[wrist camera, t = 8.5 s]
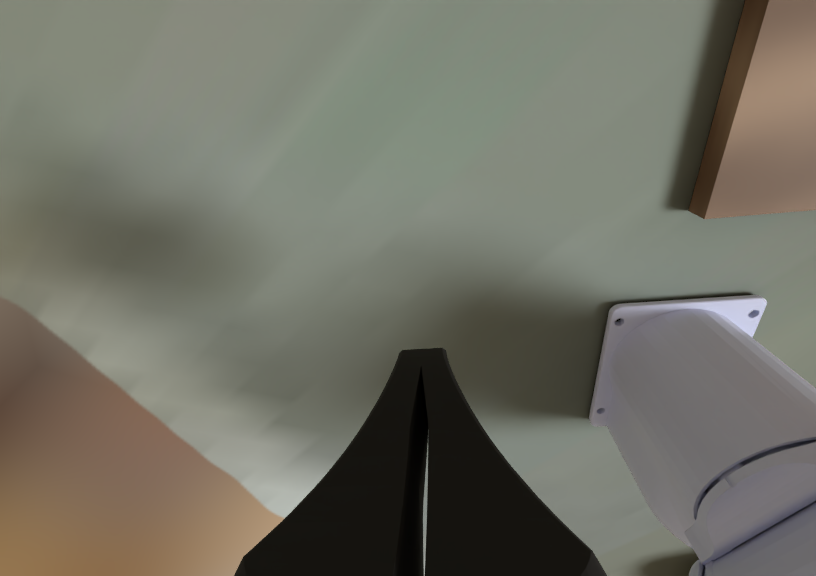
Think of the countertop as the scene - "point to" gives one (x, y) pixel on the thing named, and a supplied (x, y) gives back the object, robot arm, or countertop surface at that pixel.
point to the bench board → (764, 117)
